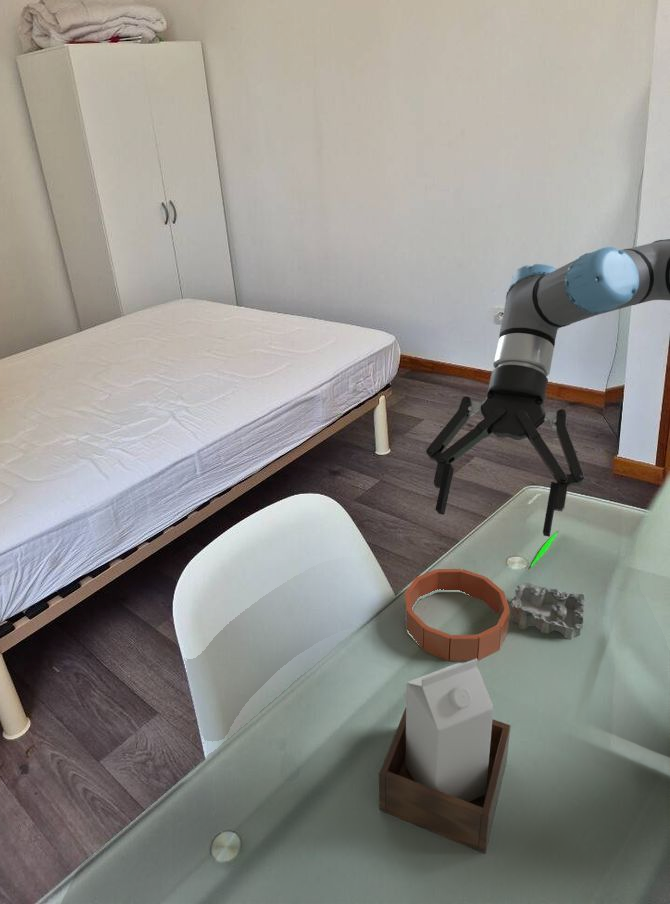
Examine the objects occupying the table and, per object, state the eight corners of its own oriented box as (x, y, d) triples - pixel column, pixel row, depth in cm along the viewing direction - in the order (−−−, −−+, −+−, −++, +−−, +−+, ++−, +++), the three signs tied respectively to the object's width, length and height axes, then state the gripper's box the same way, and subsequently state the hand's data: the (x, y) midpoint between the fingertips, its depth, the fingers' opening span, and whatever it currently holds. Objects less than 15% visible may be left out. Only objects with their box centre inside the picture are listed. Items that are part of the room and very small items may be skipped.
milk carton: (405, 767, 87) (406, 656, 78) (453, 747, 89) (459, 637, 80) (434, 818, 81) (439, 704, 72) (486, 795, 83) (496, 682, 74)
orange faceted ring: (519, 609, 111) (521, 588, 109) (486, 676, 99) (488, 653, 97) (428, 578, 119) (429, 557, 117) (388, 637, 107) (388, 615, 105)
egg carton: (507, 626, 108) (509, 605, 106) (515, 595, 114) (517, 575, 112) (580, 644, 104) (583, 624, 102) (584, 611, 110) (587, 591, 108)
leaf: (561, 532, 128) (561, 528, 128) (530, 572, 119) (531, 568, 119) (556, 530, 129) (556, 527, 129) (525, 570, 120) (525, 566, 119)
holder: (506, 760, 87) (510, 724, 84) (485, 853, 77) (488, 816, 74) (411, 727, 93) (411, 692, 90) (379, 810, 83) (378, 773, 80)
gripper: (617, 394, 93) (593, 549, 87) (435, 372, 103) (404, 509, 98) (621, 373, 86) (595, 539, 81) (426, 352, 97) (393, 498, 91)
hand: (491, 523), depth 89 cm, fingers open, 13 cm apart
